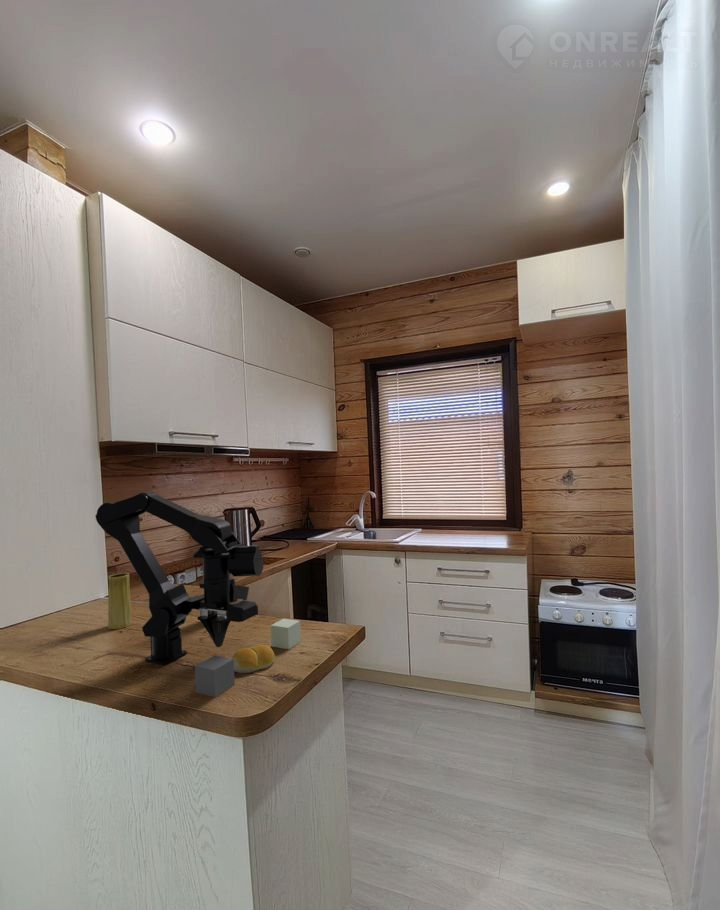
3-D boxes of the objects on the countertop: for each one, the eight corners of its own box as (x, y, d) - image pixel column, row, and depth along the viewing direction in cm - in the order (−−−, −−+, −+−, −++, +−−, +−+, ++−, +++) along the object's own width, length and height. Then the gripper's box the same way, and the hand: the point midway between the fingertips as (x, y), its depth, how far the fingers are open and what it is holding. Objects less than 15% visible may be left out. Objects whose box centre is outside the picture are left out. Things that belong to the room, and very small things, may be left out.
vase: (136, 623, 125) (135, 573, 126) (115, 631, 120) (113, 578, 121) (125, 620, 129) (123, 571, 129) (103, 627, 123) (102, 576, 124)
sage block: (271, 646, 104) (270, 625, 104) (284, 639, 108) (283, 618, 108) (288, 649, 102) (287, 627, 102) (301, 641, 106) (300, 620, 106)
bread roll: (280, 665, 93) (279, 646, 94) (238, 678, 89) (238, 658, 89) (266, 653, 100) (265, 635, 101) (227, 664, 95) (226, 645, 96)
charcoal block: (195, 692, 83) (194, 665, 83) (215, 680, 88) (214, 655, 88) (215, 697, 81) (214, 669, 81) (234, 685, 85) (233, 659, 86)
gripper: (272, 570, 102) (274, 638, 102) (212, 566, 110) (214, 629, 110) (239, 582, 92) (241, 658, 92) (176, 577, 100) (178, 646, 100)
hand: (219, 646), depth 99 cm, fingers closed
